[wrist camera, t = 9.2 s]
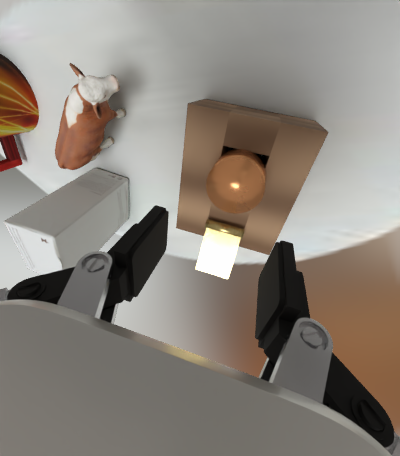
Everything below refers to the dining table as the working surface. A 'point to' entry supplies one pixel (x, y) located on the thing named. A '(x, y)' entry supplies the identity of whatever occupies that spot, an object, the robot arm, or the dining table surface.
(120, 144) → the dining table surface
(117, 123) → the dining table surface
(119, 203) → the skincare box
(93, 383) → the robot arm
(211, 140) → the block
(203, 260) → the plate
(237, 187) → the orange-brown domed cylinder
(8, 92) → the mug
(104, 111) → the bull figurine
